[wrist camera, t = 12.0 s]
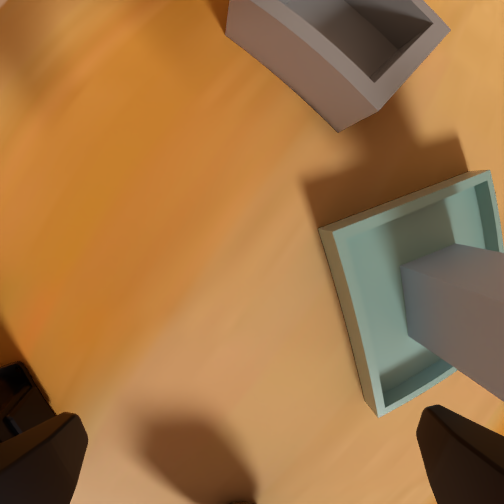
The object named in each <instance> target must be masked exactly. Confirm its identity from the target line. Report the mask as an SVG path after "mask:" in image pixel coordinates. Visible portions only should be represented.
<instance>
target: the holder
mask: <svg viewBox="0 0 504 504" xmlns="http://www.w3.org/2000/svg"><path fill="white" fill-rule="evenodd" d="M450 31H451V29H450V28H449V27H448V26H447V25H446V24H445V23H444V22H443V20H442V19H441V18H440V17H439V16H438V15H437V14H436V13H435V12H434V11H433V10H432V9H431V8H430V7H429V6H428V5H427V4H426V3H425V2H424V1H423V0H229V8H228V16H227V24H226V32H225V35H226V36H227V37H228V38H230V39H231V40H232V41H234V42H235V43H236V44H238V45H239V46H240V47H242V48H243V49H244V50H245V51H247V52H248V53H249V54H251V55H252V56H253V57H254V58H256V59H257V60H258V61H259V62H261V63H262V64H263V65H264V66H265V67H267V68H268V69H269V70H270V71H271V72H273V73H274V74H275V75H276V76H277V77H279V78H280V79H281V80H282V81H283V82H284V83H285V84H287V85H288V86H289V87H290V88H291V89H292V90H293V91H295V92H296V93H297V94H298V95H299V96H300V97H301V98H302V99H303V100H304V101H306V102H307V103H308V104H309V105H310V106H311V107H312V108H313V109H314V110H315V111H316V112H317V113H318V114H319V115H320V116H321V117H322V118H324V119H325V120H326V121H327V122H328V123H329V124H330V125H331V126H332V127H333V128H334V129H335V130H336V131H337V132H340V131H342V130H344V129H346V128H347V127H349V126H351V125H353V124H355V123H357V122H359V121H361V120H363V119H365V118H367V117H368V116H370V115H372V114H374V113H376V112H378V111H379V110H380V109H381V108H382V107H383V106H384V105H385V103H386V102H387V101H388V100H389V99H390V98H391V97H392V96H393V94H394V93H395V92H396V91H397V90H398V89H399V88H400V87H401V85H402V84H403V83H404V82H405V81H406V80H407V79H408V78H409V77H410V75H411V74H412V73H413V72H414V71H415V70H416V69H417V68H418V66H419V65H420V64H421V63H422V62H423V61H424V60H425V59H426V57H427V56H428V55H429V54H430V53H431V52H432V51H433V50H434V49H435V47H436V46H437V45H438V44H439V43H440V42H441V41H442V40H443V38H444V37H445V36H446V35H447V34H448V33H449V32H450Z"/></svg>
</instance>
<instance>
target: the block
mask: <svg viewBox="0 0 504 504" xmlns="http://www.w3.org/2000/svg"><path fill="white" fill-rule="evenodd" d="M400 271H401V278H402V285H403V293H404V300H405V309H406V318H407V328H408V336H409V337H411V338H412V339H413V340H415V341H416V342H418V343H419V344H421V345H422V346H424V347H425V348H427V349H428V350H430V351H431V352H433V353H434V354H436V355H437V356H439V357H440V358H441V359H443V360H444V361H446V362H447V363H449V364H450V365H452V366H453V367H455V368H456V369H457V370H459V371H460V372H462V373H463V374H465V375H466V376H468V377H469V378H471V379H472V380H473V381H475V382H476V383H478V384H479V385H481V386H482V387H484V388H485V389H486V390H488V391H489V392H491V393H492V394H494V395H495V396H496V397H498V398H499V399H501V400H502V401H504V253H501V252H496V251H492V250H487V249H482V248H477V247H472V246H466V245H461V244H456V243H455V244H453V245H450V246H448V247H445V248H443V249H441V250H438V251H436V252H433V253H431V254H428V255H426V256H423V257H421V258H418V259H416V260H413V261H411V262H408V263H406V264H403V265H401V266H400Z"/></svg>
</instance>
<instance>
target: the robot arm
mask: <svg viewBox="0 0 504 504" xmlns="http://www.w3.org/2000/svg"><path fill="white" fill-rule="evenodd" d="M18 367H19V368H20V370H19V369H18ZM416 436H417V441H418V444H419V447H420V451H421V454H422V458H423V462H424V465H425V469H426V473H427V476H428V480H429V483H430V486H431V488H432V491H433V493H434V496H435V498H436V501H437V504H504V436H502V435H500V434H498V433H496V432H494V431H491V430H489V429H487V428H485V427H483V426H481V425H479V424H477V423H475V422H473V421H471V420H469V419H467V418H465V417H463V416H461V415H459V414H457V413H455V412H453V411H451V410H449V409H447V408H445V407H443V406H441V405H433V406H429V407H426V408H425V409H424V410H423V412H422V415H421V418H420V421H419V424H418V427H417V431H416ZM87 445H88V436H87V433H86V431H85V428H84V426H83V424H82V421H81V419H80V417H79V416H78V415H77V414H74V413H69V412H63V413H61V414H59V415H57V416H55V415H54V413H53V412H52V410H51V409H50V407H49V406H48V404H47V402H46V401H45V399H44V398H43V396H42V395H41V393H40V391H39V390H38V388H37V386H36V385H35V383H34V381H33V380H32V378H31V376H30V374H29V373H28V371H27V369H26V367H25V366H24V364H23V363H22V362H20V361H17V362H14V363H10V364H7V365H4V366H1V367H0V504H70V501H71V499H72V496H73V494H74V491H75V488H76V485H77V482H78V478H79V474H80V471H81V467H82V463H83V459H84V456H85V452H86V448H87Z"/></svg>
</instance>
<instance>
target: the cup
mask: <svg viewBox="0 0 504 504" xmlns="http://www.w3.org/2000/svg"><path fill="white" fill-rule="evenodd" d="M231 504H252V503H249V502H235V503H231Z"/></svg>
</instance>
